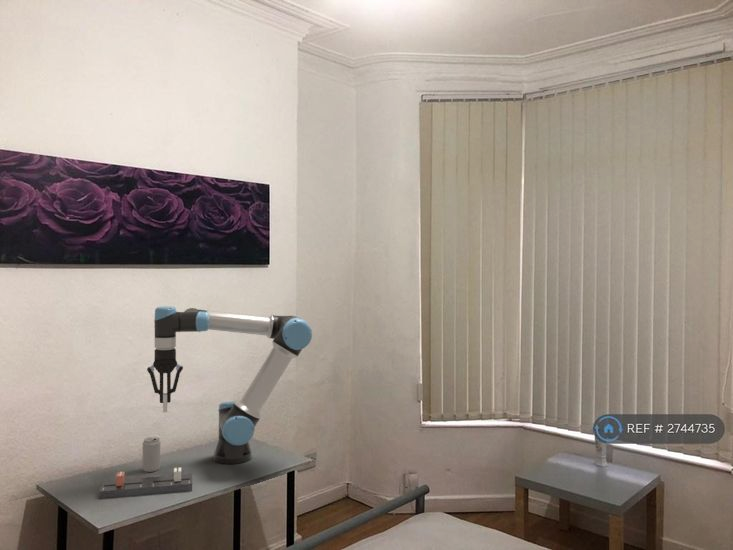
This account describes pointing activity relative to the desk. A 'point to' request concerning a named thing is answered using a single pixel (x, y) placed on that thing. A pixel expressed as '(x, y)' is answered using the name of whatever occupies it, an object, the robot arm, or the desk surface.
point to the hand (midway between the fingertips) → (165, 411)
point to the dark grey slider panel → (145, 486)
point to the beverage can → (151, 454)
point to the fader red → (120, 478)
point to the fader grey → (177, 474)
